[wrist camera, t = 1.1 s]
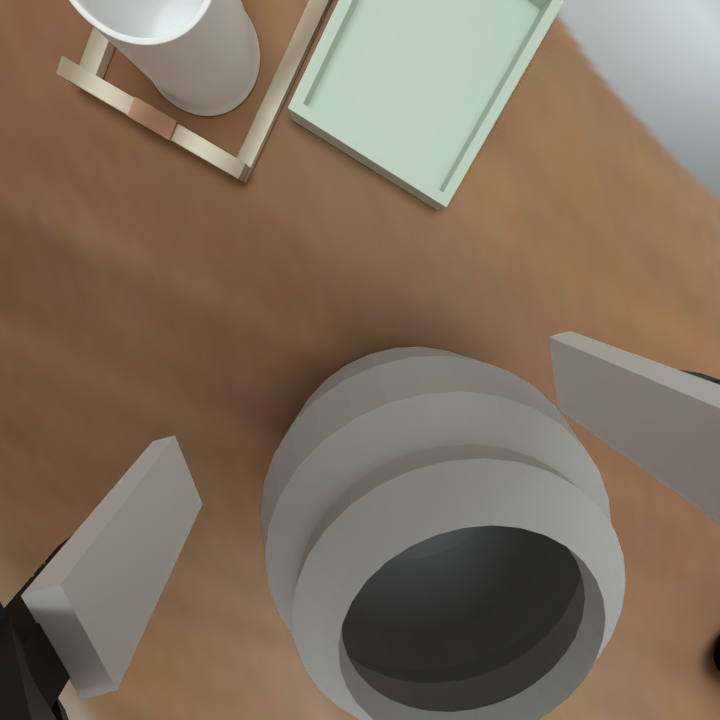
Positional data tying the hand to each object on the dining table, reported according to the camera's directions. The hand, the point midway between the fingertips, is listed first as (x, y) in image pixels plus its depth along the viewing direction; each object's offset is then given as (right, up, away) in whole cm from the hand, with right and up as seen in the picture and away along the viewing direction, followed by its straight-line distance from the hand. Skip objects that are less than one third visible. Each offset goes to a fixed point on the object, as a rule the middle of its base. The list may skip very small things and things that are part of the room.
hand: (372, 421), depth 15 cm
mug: (-11, +26, +17) cm, 34 cm away
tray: (+4, +25, +19) cm, 31 cm away
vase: (+2, -3, +26) cm, 27 cm away
